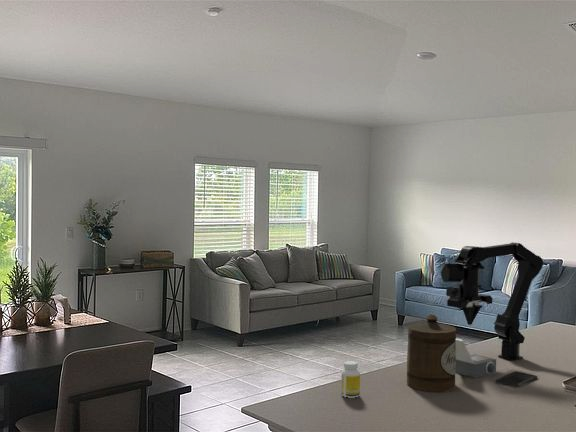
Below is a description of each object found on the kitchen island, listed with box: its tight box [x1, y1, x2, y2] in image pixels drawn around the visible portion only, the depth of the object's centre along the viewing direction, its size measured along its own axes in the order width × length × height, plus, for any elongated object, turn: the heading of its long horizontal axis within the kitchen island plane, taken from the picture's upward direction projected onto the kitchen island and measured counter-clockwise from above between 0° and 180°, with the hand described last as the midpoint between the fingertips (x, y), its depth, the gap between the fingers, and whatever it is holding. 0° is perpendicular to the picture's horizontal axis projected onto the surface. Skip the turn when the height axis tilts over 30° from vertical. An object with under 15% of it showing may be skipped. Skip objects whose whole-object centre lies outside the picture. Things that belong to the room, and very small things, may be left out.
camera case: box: [455, 353, 497, 379], centre depth 207 cm, size 11×9×5 cm
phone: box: [495, 371, 538, 388], centre depth 199 cm, size 8×1×15 cm
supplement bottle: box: [340, 360, 361, 399], centre depth 182 cm, size 5×5×10 cm
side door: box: [456, 337, 474, 365], centre depth 202 cm, size 10×8×1 cm
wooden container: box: [406, 314, 457, 393], centre depth 193 cm, size 15×15×22 cm
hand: (469, 324), depth 222 cm, fingers closed
